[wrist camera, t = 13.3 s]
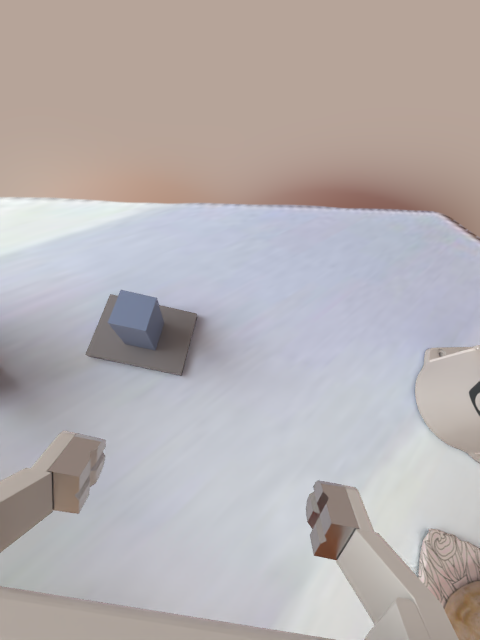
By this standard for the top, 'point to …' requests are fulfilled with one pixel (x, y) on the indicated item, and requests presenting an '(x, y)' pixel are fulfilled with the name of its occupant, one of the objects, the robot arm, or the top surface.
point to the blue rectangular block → (137, 320)
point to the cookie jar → (453, 580)
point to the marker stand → (163, 359)
